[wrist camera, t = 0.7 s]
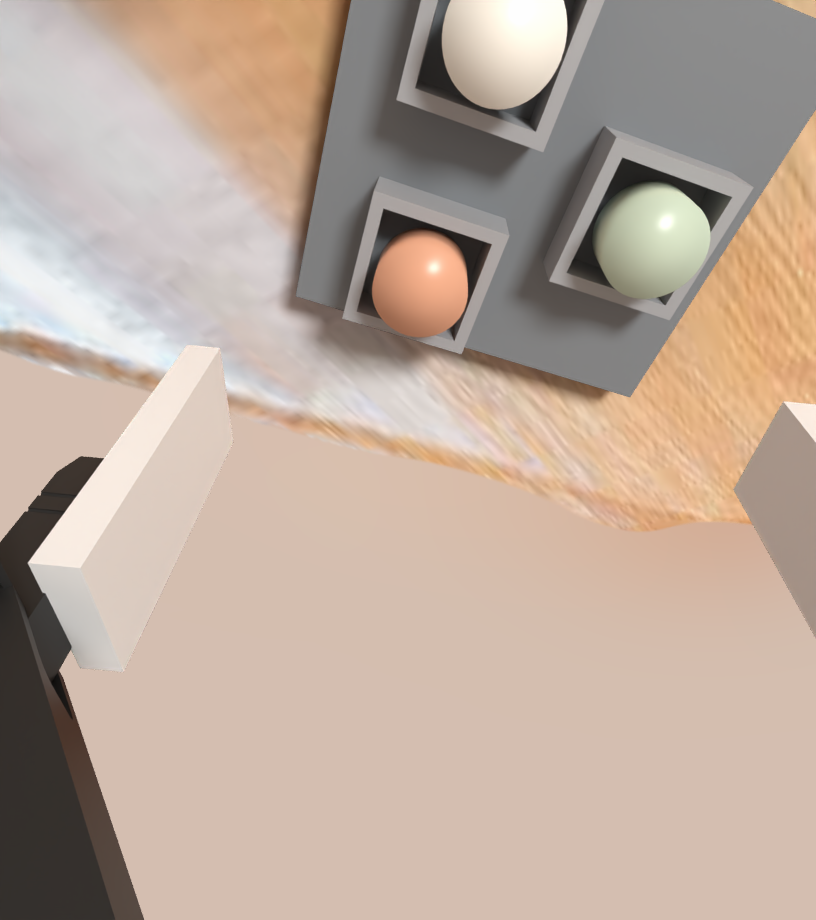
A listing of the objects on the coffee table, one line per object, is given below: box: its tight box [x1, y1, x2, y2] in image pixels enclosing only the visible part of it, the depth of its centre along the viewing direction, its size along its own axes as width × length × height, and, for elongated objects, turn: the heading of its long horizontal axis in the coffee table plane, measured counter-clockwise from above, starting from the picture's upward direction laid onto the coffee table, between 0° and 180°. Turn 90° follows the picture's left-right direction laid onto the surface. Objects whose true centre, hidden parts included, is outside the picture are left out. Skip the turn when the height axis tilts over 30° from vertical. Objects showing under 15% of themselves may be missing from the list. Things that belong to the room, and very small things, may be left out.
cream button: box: [442, 0, 567, 109], centre depth 22 cm, size 4×4×2 cm
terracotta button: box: [372, 228, 468, 337], centre depth 28 cm, size 4×4×2 cm
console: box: [296, 0, 816, 397], centre depth 28 cm, size 20×18×4 cm
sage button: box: [592, 180, 710, 299], centre depth 26 cm, size 4×4×2 cm
